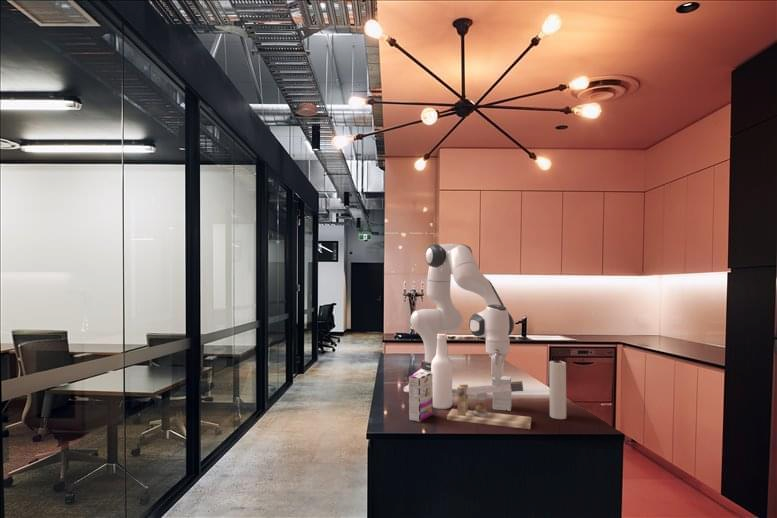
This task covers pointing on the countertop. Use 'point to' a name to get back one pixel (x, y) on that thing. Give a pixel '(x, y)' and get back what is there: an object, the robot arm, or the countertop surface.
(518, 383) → the lever
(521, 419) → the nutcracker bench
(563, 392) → the paper towel roll
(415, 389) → the candy bar box
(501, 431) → the countertop surface
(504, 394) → the supplement box
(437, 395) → the alcohol
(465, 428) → the countertop surface
